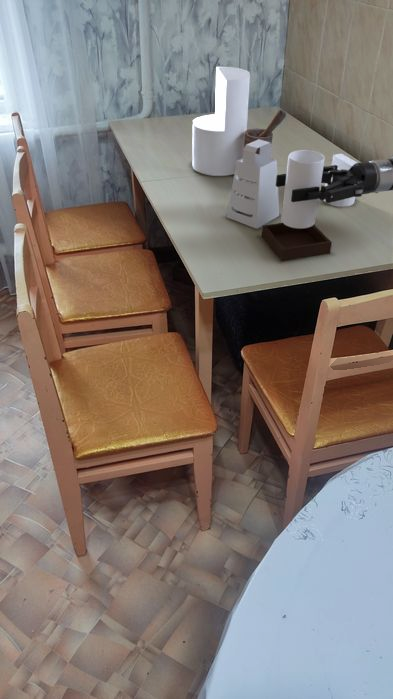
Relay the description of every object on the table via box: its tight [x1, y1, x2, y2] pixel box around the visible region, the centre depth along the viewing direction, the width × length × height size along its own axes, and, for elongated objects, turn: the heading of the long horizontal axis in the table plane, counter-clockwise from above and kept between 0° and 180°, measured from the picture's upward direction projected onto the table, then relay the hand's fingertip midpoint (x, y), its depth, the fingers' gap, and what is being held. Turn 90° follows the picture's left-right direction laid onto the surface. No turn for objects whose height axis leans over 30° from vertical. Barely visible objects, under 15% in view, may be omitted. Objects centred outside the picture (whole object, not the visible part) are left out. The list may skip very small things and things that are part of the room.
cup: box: [281, 149, 326, 228], centre depth 129 cm, size 8×8×16 cm
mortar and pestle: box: [244, 109, 287, 155], centre depth 168 cm, size 12×9×20 cm
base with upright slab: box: [323, 153, 358, 208], centre depth 156 cm, size 9×9×12 cm
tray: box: [260, 222, 333, 262], centre depth 137 cm, size 13×13×3 cm
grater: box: [225, 139, 280, 229], centre depth 144 cm, size 10×10×20 cm
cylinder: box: [191, 65, 251, 177], centre depth 171 cm, size 17×17×28 cm
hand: (284, 188), depth 127 cm, fingers closed on cup, 8 cm apart
